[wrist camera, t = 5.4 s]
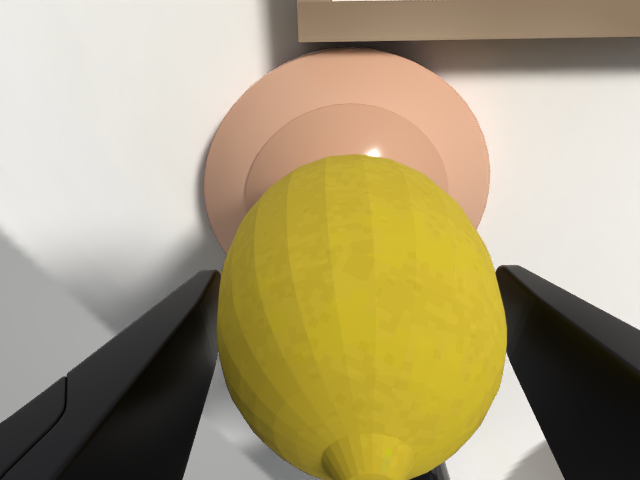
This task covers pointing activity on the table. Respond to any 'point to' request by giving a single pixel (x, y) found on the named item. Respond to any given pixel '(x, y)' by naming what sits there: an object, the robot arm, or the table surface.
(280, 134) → the saucer
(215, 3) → the table surface
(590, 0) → the wooden picture frame
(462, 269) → the lemon
